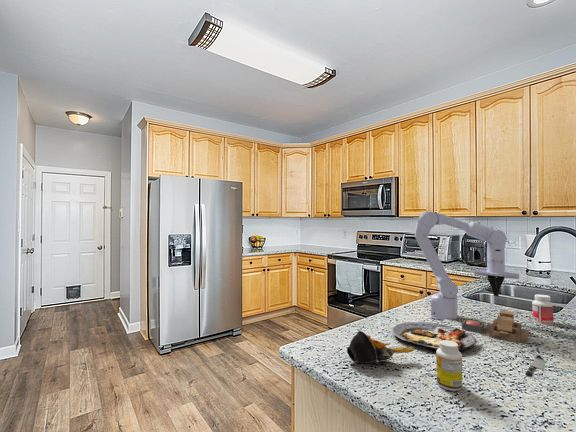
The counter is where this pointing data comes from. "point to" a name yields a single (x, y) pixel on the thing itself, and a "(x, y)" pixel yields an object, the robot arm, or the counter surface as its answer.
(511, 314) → the block
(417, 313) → the counter surface
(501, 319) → the block
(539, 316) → the pill bottle
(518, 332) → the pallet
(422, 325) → the food plate
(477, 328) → the button housing
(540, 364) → the kitchen knife
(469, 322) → the button
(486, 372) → the counter surface
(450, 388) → the supplement bottle
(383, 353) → the fried shrimp in bowl
